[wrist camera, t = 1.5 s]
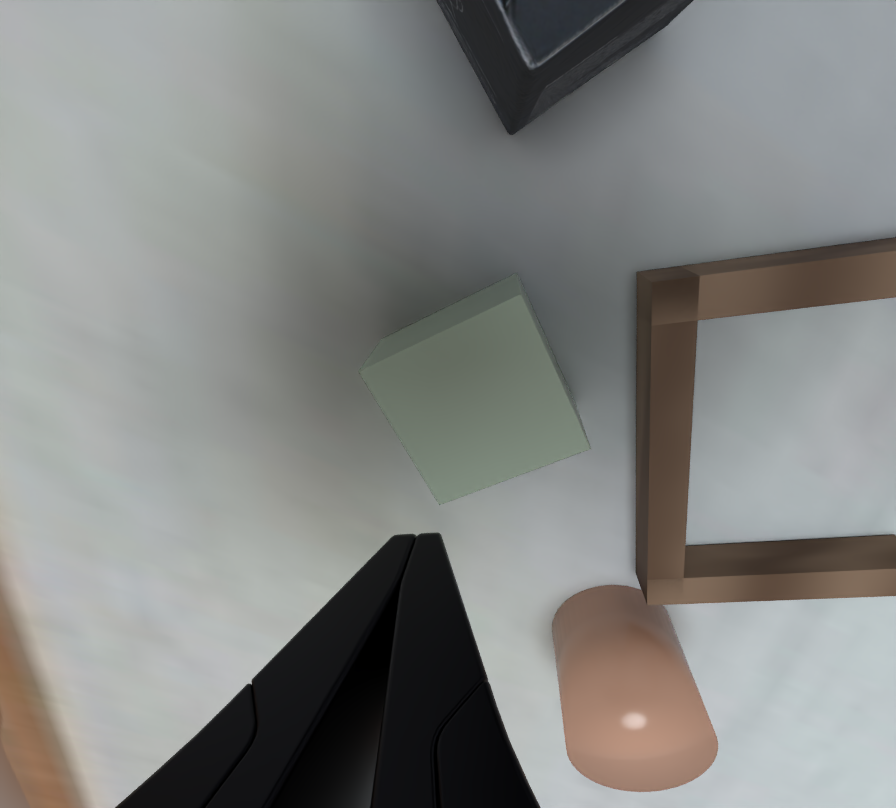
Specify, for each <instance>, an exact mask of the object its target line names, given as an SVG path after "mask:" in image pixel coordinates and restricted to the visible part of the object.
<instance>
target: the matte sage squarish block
mask: <svg viewBox="0 0 896 808" xmlns="http://www.w3.org/2000/svg"><path fill="white" fill-rule="evenodd" d="M358 372H359V374H360V375H361V377H362V379H363V380H364V382H365V384H366V385H367V387H368V389H369V390H370V392H371V394H372V395H373V397H374V398H375V400H376V402H377V403H378V405H379V407H380V408H381V410H382V412H383V413H384V415H385V417H386V418H387V420H388V421H389V423H390V425H391V426H392V428H393V430H394V431H395V433H396V435H397V436H398V438H399V440H400V441H401V443H402V444H403V446H404V448H405V449H406V451H407V453H408V454H409V456H410V458H411V459H412V461H413V463H414V464H415V466H416V467H417V469H418V471H419V472H420V474H421V476H422V477H423V479H424V481H425V482H426V484H427V486H428V487H429V489H430V491H431V492H432V494H433V495H434V497H435V499H436V500H437V502H438V504H439V505H441V504H444V503H446V502H449V501H452V500H455V499H457V498H460V497H463V496H465V495H468V494H471V493H473V492H476V491H479V490H481V489H484V488H487V487H490V486H492V485H495V484H498V483H500V482H503V481H506V480H508V479H511V478H514V477H516V476H519V475H522V474H524V473H527V472H530V471H533V470H535V469H538V468H541V467H543V466H546V465H549V464H551V463H554V462H557V461H559V460H562V459H565V458H568V457H570V456H573V455H576V454H578V453H581V452H584V451H586V450H589V449H591V448H590V445H589V442H588V439H587V436H586V433H585V430H584V427H583V425H582V422H581V419H580V416H579V413H578V410H577V407H576V404H575V402H574V400H573V397H572V395H571V393H570V391H569V388H568V386H567V384H566V382H565V379H564V377H563V375H562V373H561V370H560V368H559V366H558V364H557V362H556V359H555V357H554V355H553V353H552V350H551V348H550V346H549V344H548V341H547V339H546V337H545V335H544V332H543V330H542V328H541V326H540V324H539V321H538V319H537V317H536V315H535V312H534V310H533V308H532V306H531V303H530V301H529V299H528V297H527V294H526V292H525V290H524V288H523V286H522V283H521V281H520V279H519V277H518V274H517V273H515V274H513V275H511V276H509V277H507V278H505V279H503V280H501V281H499V282H497V283H495V284H493V285H491V286H489V287H487V288H485V289H483V290H481V291H479V292H476V293H474V294H472V295H470V296H468V297H466V298H464V299H462V300H460V301H458V302H456V303H454V304H452V305H450V306H448V307H446V308H444V309H442V310H440V311H438V312H436V313H434V314H432V315H430V316H428V317H426V318H423V319H421V320H419V321H417V322H415V323H413V324H411V325H409V326H407V327H405V328H403V329H401V330H399V331H397V332H395V333H393V334H391V335H389V336H387V337H385V338H383V339H382V340H381V341H380V342H379V344H378V345H377V347H376V348H375V349H374V351H373V352H372V353H371V355H370V356H369V358H368V359H367V360H366V362H365V363H364V364H363V366H362V367H361V368H360V370H359V371H358Z"/></svg>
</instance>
